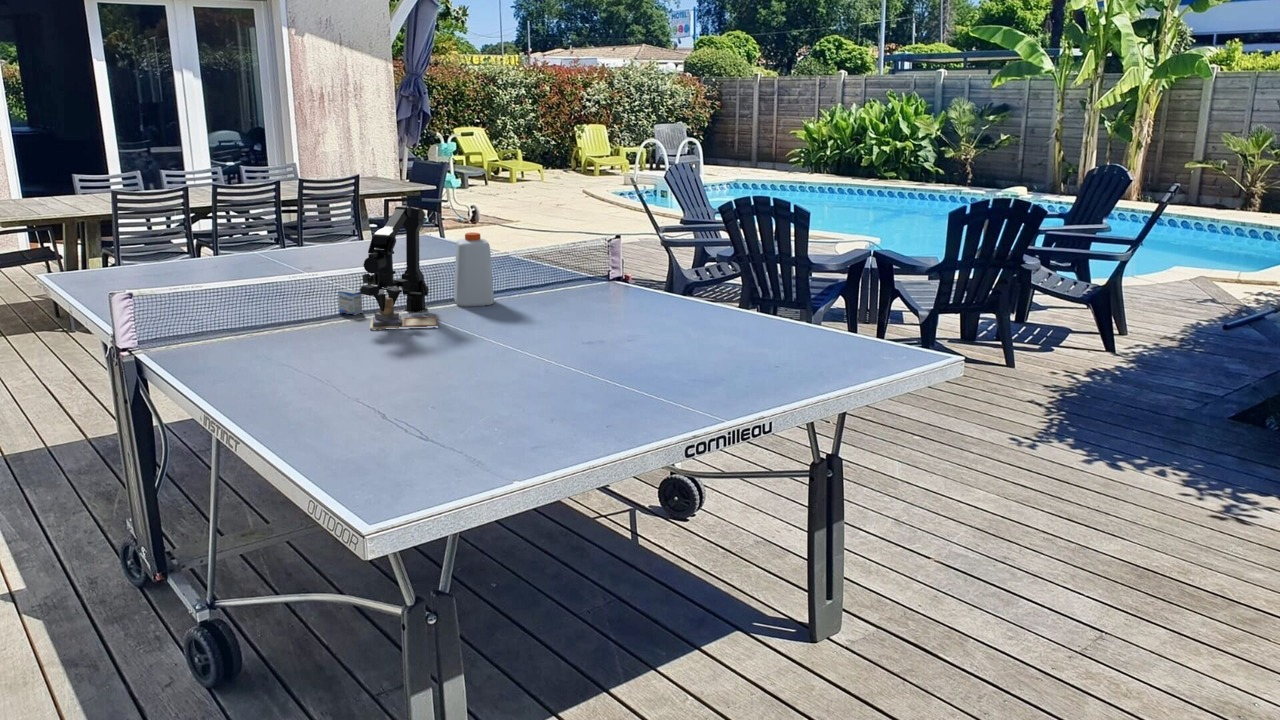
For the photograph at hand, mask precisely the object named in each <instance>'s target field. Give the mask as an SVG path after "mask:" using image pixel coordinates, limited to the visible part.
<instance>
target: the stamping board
mask: <svg viewBox="0 0 1280 720" xmlns="http://www.w3.org/2000/svg"><path fill="white" fill-rule="evenodd" d="M369 323H370V324H369V330H370V329H386V328H399V327H427V326H438V327H439V322H438V317H437V316H417V317H416V316H414V317H413V316H412V317H410V316H409V317H402V316H401V315H399V319H394V320H390V321H382V320H378V319H375V316H372V318H371V319H370V322H369Z"/></svg>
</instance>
